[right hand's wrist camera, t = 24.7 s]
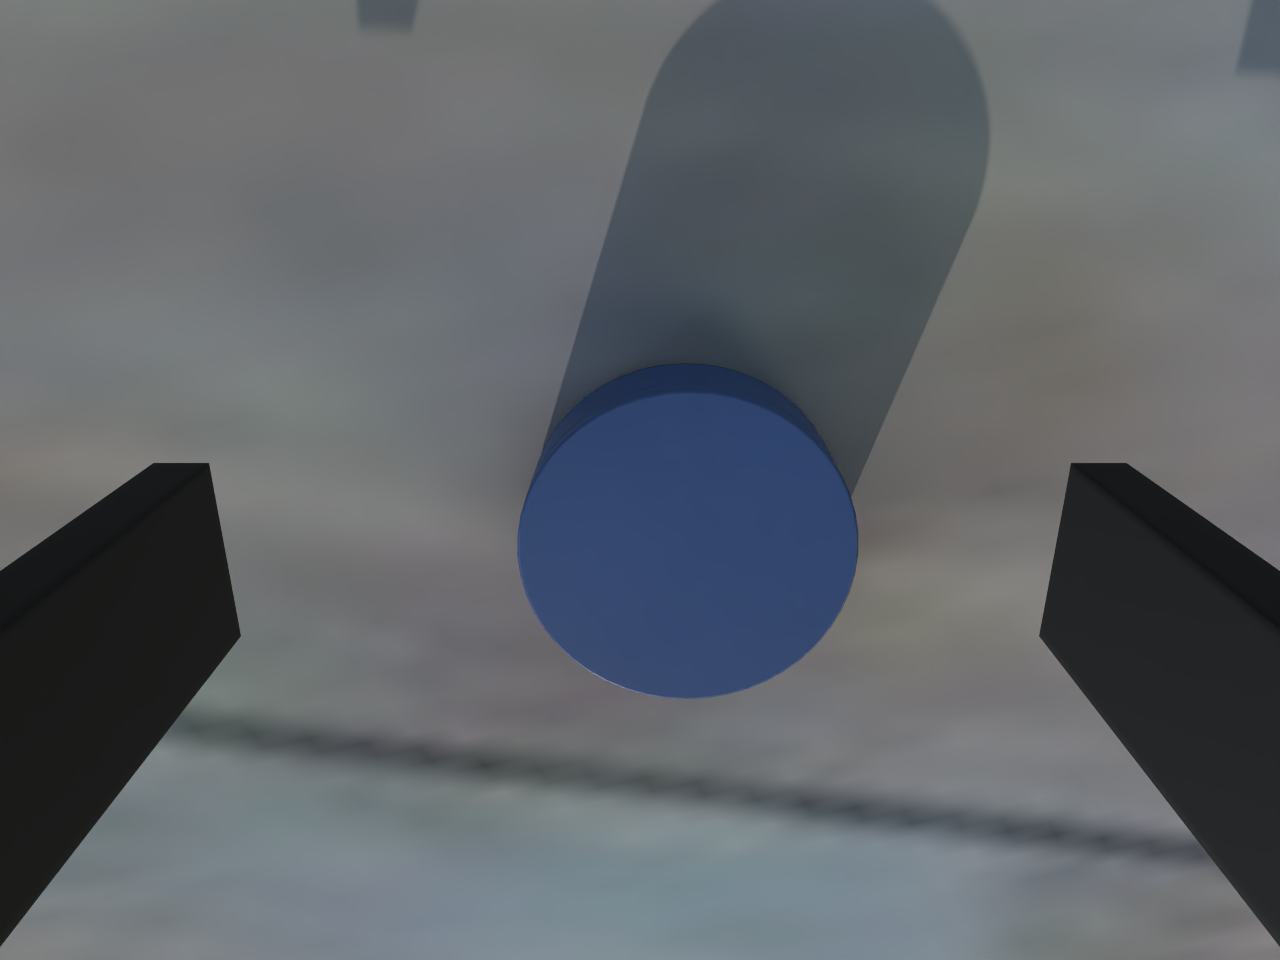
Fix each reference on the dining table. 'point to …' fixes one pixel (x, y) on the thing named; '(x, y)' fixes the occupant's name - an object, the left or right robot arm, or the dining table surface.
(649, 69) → the dining table surface
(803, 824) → the dining table surface
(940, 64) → the dining table surface
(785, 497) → the lid
